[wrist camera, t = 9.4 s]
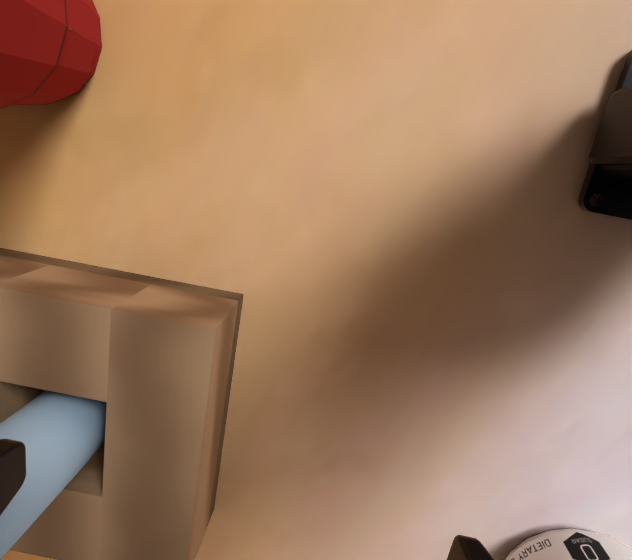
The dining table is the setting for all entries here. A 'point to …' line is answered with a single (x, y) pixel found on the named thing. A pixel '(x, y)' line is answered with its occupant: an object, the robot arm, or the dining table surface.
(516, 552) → the supplement can
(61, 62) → the plastic cup
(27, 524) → the pin
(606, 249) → the dining table surface
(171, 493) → the bore block
